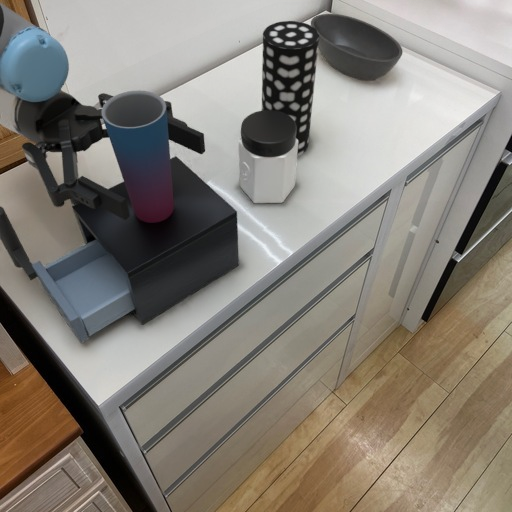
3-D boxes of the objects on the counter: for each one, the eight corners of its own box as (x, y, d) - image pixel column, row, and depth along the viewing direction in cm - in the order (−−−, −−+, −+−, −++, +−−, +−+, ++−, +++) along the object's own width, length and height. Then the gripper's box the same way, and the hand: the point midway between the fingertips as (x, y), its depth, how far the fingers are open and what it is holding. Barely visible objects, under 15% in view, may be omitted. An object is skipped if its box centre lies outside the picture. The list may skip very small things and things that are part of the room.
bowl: (369, 99, 103) (375, 70, 98) (293, 52, 114) (295, 24, 109) (410, 77, 108) (418, 48, 103) (334, 35, 119) (337, 7, 114)
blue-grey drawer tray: (70, 349, 66) (45, 300, 58) (13, 263, 74) (-16, 210, 66) (178, 284, 72) (169, 232, 64) (114, 212, 81) (98, 158, 73)
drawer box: (142, 325, 70) (127, 273, 61) (91, 260, 77) (71, 206, 68) (238, 265, 76) (237, 211, 68) (183, 211, 83) (176, 155, 75)
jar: (231, 179, 88) (229, 118, 79) (273, 163, 91) (275, 102, 81) (260, 213, 83) (260, 152, 74) (303, 194, 86) (309, 133, 76)
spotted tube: (286, 123, 98) (292, 15, 82) (318, 145, 94) (330, 36, 78) (251, 141, 94) (251, 32, 79) (283, 165, 90) (289, 55, 75)
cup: (122, 197, 69) (96, 97, 58) (173, 185, 71) (157, 85, 59) (133, 234, 65) (107, 134, 54) (187, 220, 67) (173, 119, 55)
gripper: (113, 93, 78) (230, 144, 71) (-31, 189, 65) (95, 265, 57) (102, 44, 73) (228, 95, 65) (-58, 139, 59) (78, 216, 52)
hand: (166, 175), depth 61 cm, fingers open, 13 cm apart
